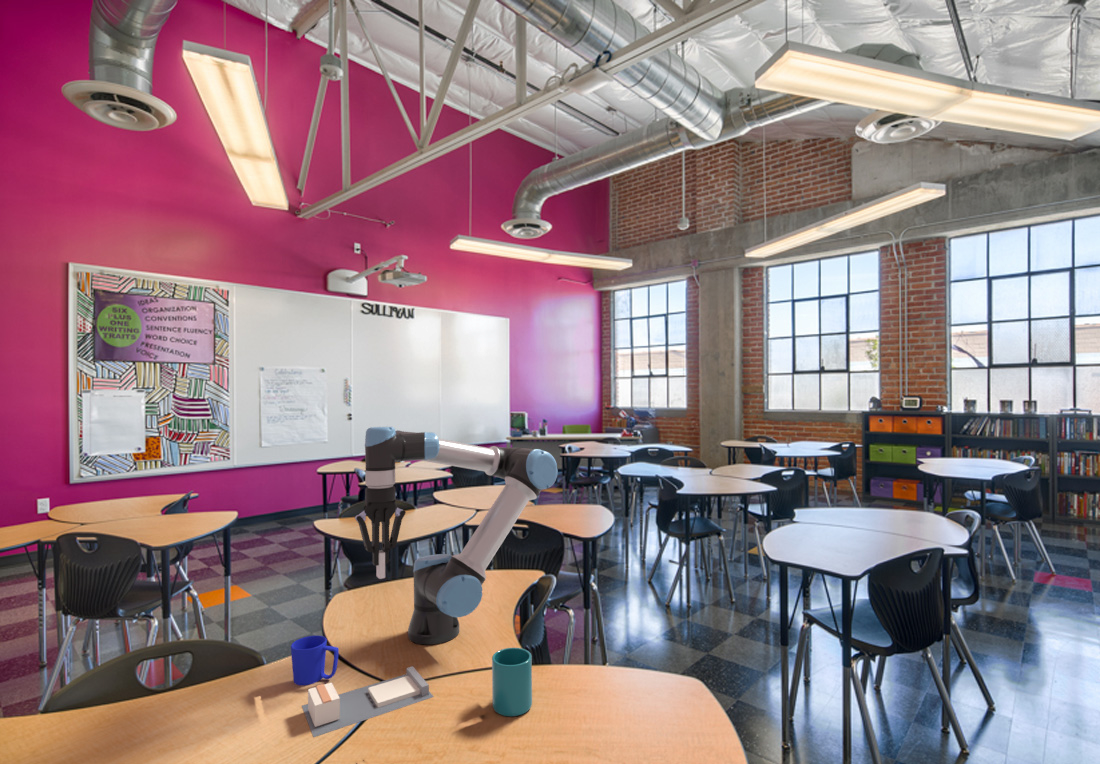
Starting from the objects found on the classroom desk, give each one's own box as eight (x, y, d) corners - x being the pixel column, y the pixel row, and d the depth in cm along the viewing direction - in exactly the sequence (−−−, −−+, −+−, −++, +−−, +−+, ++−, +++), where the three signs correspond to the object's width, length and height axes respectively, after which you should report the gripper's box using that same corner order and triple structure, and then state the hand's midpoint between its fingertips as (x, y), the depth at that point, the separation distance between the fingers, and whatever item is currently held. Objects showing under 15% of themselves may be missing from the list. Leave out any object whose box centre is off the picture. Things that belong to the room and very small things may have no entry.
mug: (327, 694, 128) (327, 652, 129) (283, 690, 131) (283, 648, 131) (347, 677, 136) (347, 637, 137) (305, 673, 139) (305, 634, 139)
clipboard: (412, 676, 136) (412, 663, 136) (433, 701, 125) (433, 687, 125) (301, 711, 122) (301, 695, 122) (313, 743, 110) (313, 726, 110)
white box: (331, 701, 122) (331, 681, 123) (339, 718, 116) (339, 697, 116) (308, 709, 120) (308, 688, 120) (314, 727, 113) (315, 704, 113)
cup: (535, 689, 129) (535, 642, 130) (529, 718, 117) (528, 666, 118) (498, 688, 130) (498, 641, 131) (488, 717, 118) (488, 665, 119)
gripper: (400, 481, 147) (400, 568, 146) (351, 486, 140) (351, 578, 139) (409, 485, 141) (410, 576, 140) (358, 490, 134) (358, 586, 133)
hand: (380, 576), depth 139 cm, fingers closed
